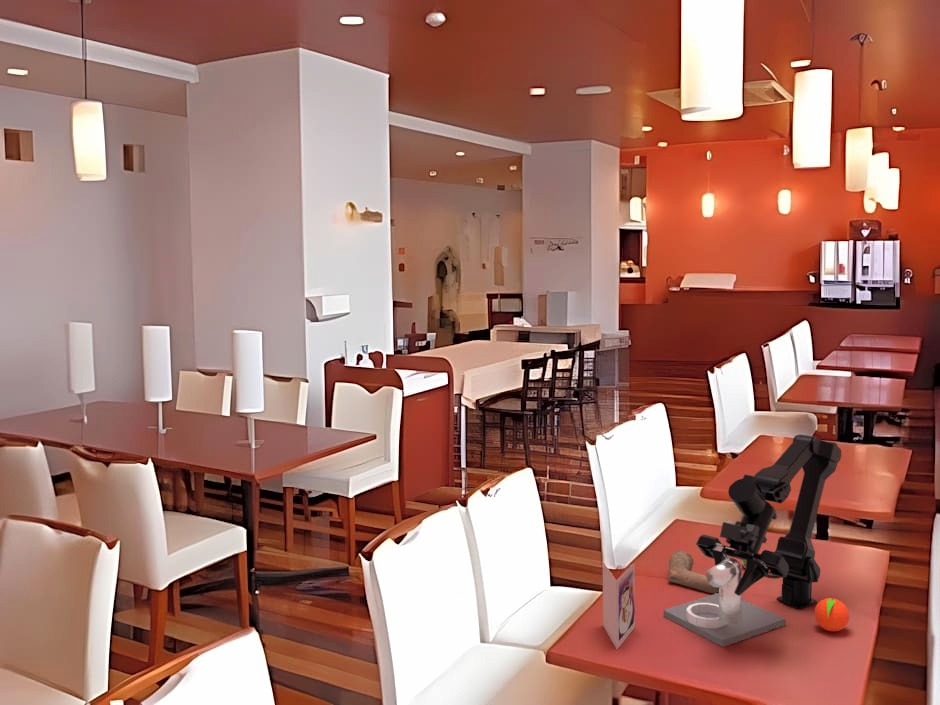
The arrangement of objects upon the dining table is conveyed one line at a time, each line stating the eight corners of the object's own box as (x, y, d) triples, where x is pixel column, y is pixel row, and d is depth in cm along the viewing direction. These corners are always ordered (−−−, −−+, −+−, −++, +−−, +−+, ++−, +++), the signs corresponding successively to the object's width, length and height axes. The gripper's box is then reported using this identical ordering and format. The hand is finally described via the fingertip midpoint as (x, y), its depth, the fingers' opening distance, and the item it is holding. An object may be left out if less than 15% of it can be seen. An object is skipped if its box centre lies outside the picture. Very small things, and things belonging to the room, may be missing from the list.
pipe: (715, 579, 205) (734, 560, 212) (653, 563, 216) (673, 545, 223) (717, 603, 207) (735, 584, 214) (655, 586, 218) (674, 568, 225)
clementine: (845, 641, 182) (846, 609, 181) (810, 634, 186) (811, 603, 185) (851, 627, 189) (852, 595, 188) (817, 620, 192) (818, 589, 192)
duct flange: (724, 597, 206) (724, 583, 205) (785, 625, 190) (785, 610, 190) (663, 616, 197) (663, 601, 196) (722, 647, 181) (722, 631, 181)
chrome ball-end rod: (725, 612, 184) (726, 553, 182) (745, 619, 181) (745, 558, 179) (705, 626, 178) (705, 564, 176) (724, 632, 175) (725, 569, 173)
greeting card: (620, 650, 181) (620, 581, 179) (587, 643, 185) (586, 575, 183) (638, 628, 191) (638, 563, 189) (606, 622, 195) (606, 557, 193)
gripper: (700, 498, 187) (672, 561, 181) (783, 516, 173) (755, 585, 167) (719, 523, 193) (692, 586, 187) (800, 543, 180) (774, 611, 174)
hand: (726, 591), depth 179 cm, fingers closed on chrome ball-end rod, 4 cm apart
